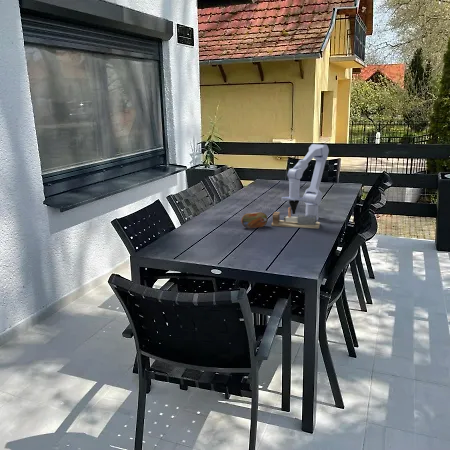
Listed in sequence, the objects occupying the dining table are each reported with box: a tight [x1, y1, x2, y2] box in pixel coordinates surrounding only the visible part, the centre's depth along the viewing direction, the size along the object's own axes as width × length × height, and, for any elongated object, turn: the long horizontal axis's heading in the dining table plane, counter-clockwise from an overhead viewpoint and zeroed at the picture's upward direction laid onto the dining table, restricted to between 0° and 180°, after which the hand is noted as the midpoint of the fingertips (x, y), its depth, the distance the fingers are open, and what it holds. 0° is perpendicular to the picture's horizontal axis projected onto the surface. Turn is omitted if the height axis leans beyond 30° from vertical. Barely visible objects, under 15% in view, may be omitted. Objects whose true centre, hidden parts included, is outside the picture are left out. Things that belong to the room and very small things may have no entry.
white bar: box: [283, 206, 298, 222], centre depth 262 cm, size 3×16×8 cm, turn 76°
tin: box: [240, 211, 268, 229], centre depth 260 cm, size 15×3×8 cm, turn 105°
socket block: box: [272, 211, 281, 224], centre depth 266 cm, size 7×3×5 cm, turn 165°
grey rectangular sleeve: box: [297, 214, 317, 225], centre depth 262 cm, size 5×10×4 cm, turn 75°
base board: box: [270, 219, 321, 229], centre depth 264 cm, size 10×26×1 cm, turn 75°
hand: (293, 213), depth 263 cm, fingers closed
